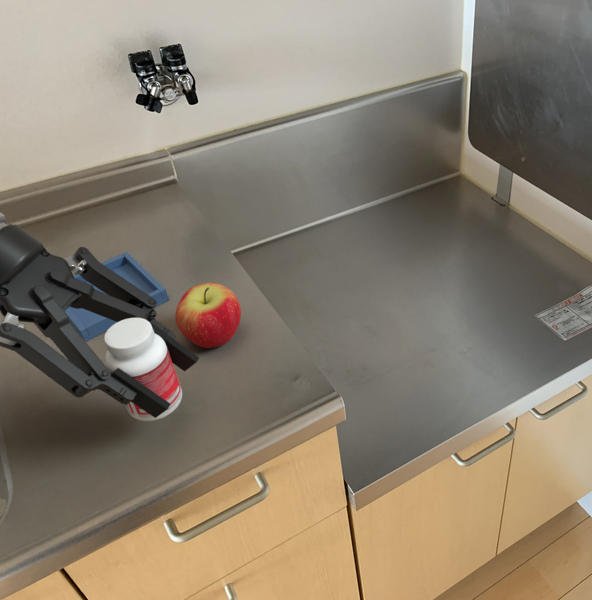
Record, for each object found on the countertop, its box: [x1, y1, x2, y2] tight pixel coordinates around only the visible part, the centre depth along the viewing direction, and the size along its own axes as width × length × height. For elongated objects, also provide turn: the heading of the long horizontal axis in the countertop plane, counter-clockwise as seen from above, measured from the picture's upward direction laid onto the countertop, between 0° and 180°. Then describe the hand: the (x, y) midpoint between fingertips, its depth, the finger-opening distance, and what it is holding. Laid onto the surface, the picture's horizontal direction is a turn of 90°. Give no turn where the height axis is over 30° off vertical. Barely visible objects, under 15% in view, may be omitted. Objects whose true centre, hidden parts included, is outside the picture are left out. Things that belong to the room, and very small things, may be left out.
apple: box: [174, 282, 242, 349], centre depth 81 cm, size 8×8×10 cm
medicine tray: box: [65, 251, 170, 342], centre depth 90 cm, size 13×13×2 cm
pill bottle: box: [103, 318, 183, 422], centre depth 67 cm, size 6×6×11 cm
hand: (177, 386), depth 67 cm, fingers closed on pill bottle, 6 cm apart
